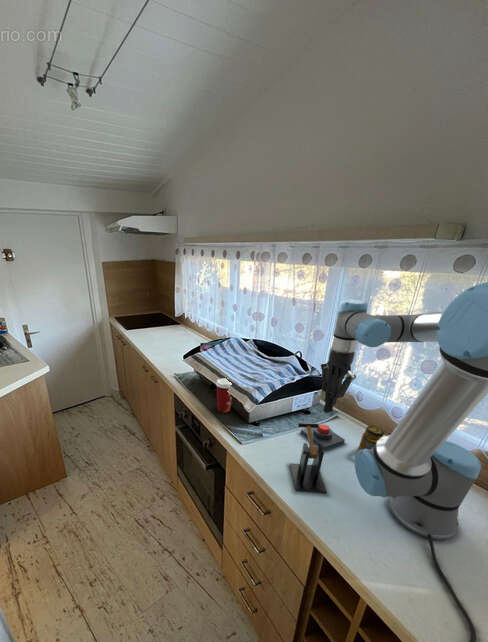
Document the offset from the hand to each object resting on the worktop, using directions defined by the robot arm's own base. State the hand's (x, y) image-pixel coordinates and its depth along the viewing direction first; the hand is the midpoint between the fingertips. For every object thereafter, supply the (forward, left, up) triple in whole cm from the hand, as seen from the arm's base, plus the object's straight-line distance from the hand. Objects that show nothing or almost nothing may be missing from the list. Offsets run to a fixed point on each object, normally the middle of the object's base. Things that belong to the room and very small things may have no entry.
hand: (327, 411), depth 111 cm
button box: (0, 0, -12) cm, 12 cm away
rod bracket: (-21, +14, -12) cm, 28 cm away
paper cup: (+25, +34, -13) cm, 44 cm away
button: (0, 0, -9) cm, 9 cm away
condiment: (-12, -10, -13) cm, 20 cm away
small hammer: (-17, +13, -1) cm, 21 cm away
